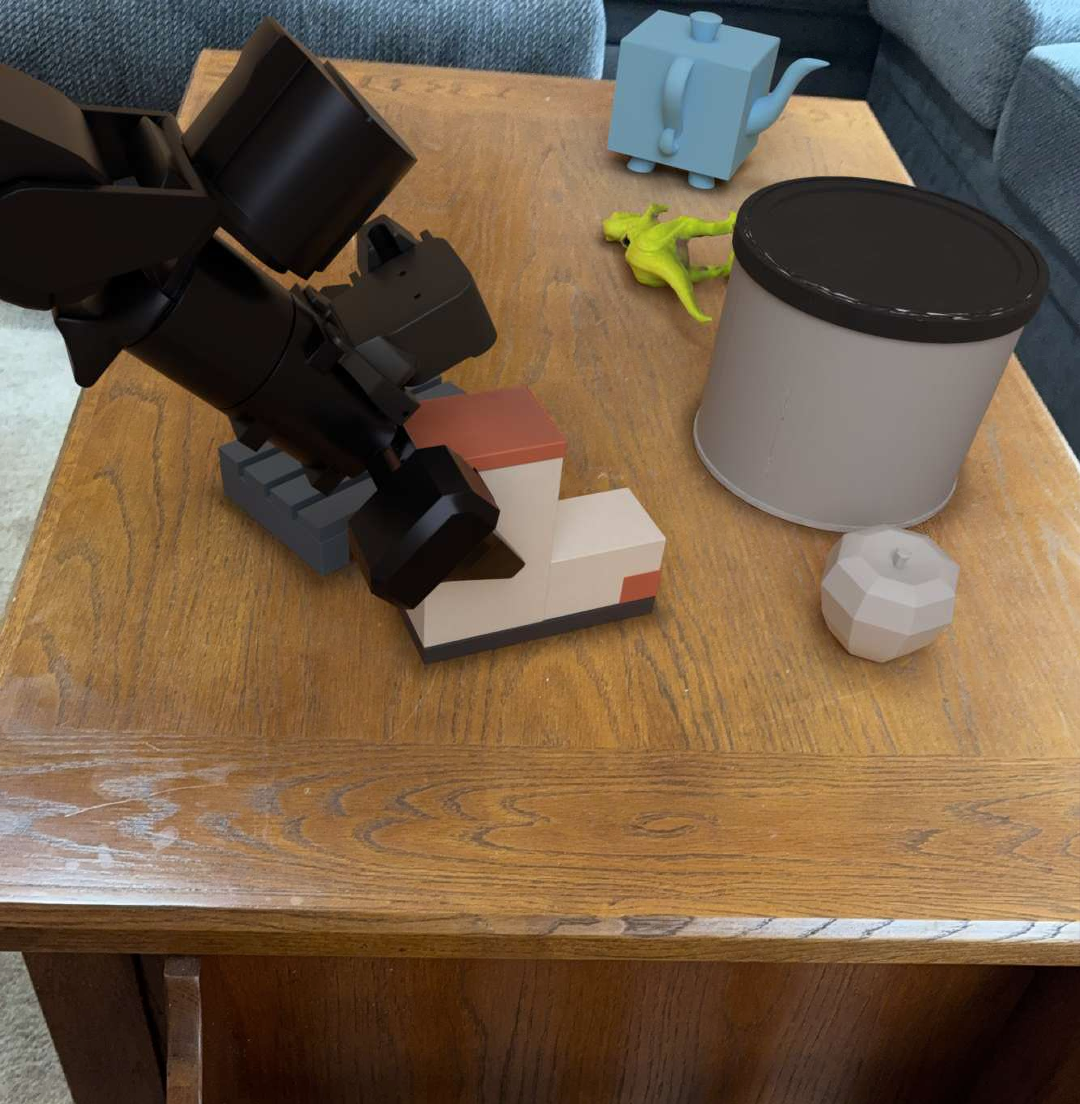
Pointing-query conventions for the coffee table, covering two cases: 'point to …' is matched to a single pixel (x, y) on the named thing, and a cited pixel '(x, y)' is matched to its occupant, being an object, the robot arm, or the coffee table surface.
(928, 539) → the apple
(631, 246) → the dinosaur figurine
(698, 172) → the teapot
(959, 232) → the container
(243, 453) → the grey shipping pallet
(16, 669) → the coffee table surface
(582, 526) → the cream boot
